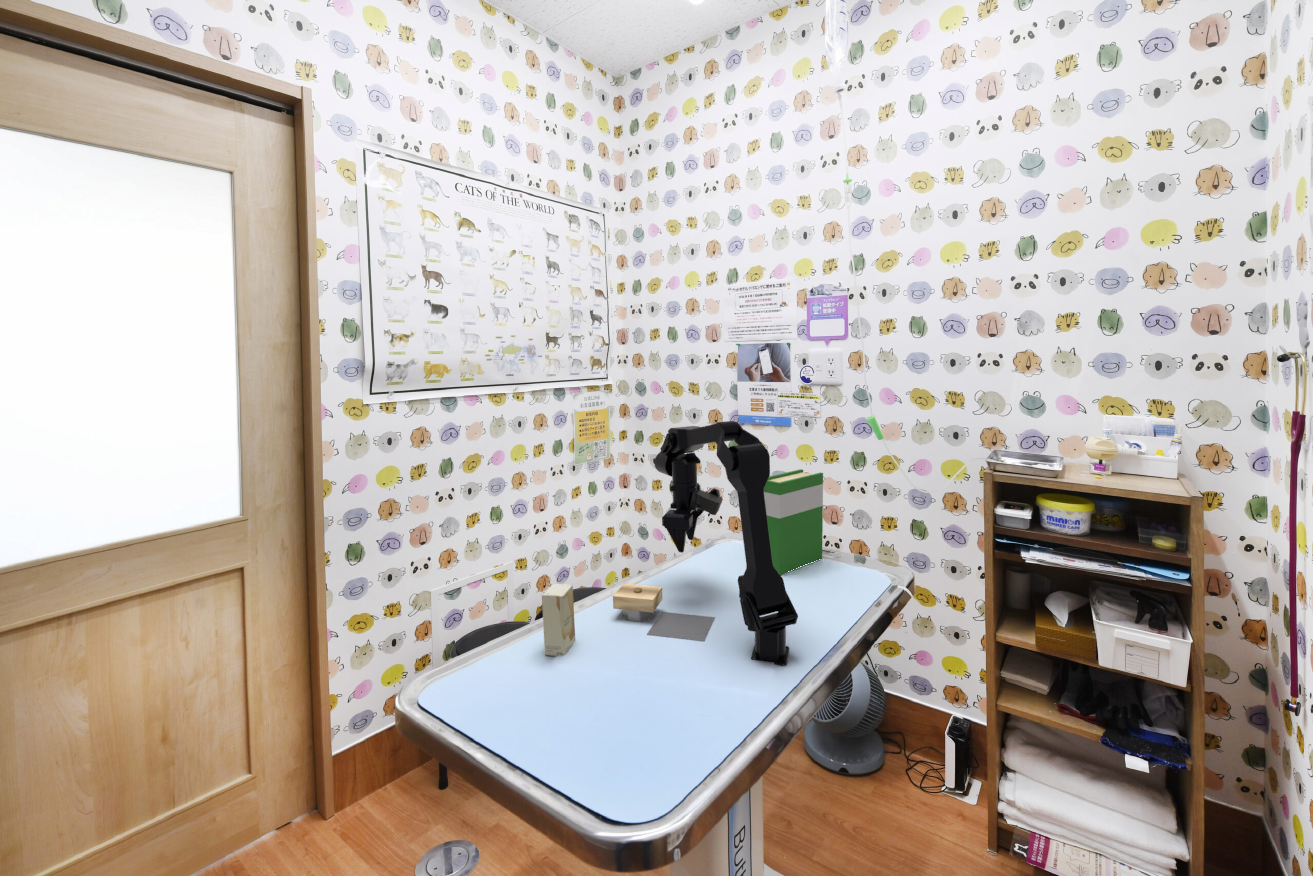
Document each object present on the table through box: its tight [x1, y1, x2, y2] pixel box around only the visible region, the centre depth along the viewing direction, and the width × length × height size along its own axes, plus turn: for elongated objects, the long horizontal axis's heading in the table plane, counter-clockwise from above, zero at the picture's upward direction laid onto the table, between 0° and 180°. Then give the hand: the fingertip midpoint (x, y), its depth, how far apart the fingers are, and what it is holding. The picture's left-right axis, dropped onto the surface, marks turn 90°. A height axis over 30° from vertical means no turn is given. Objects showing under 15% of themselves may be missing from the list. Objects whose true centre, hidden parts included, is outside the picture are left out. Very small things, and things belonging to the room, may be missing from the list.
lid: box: [612, 583, 664, 613], centre depth 128 cm, size 7×9×3 cm
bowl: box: [622, 609, 655, 623], centre depth 129 cm, size 6×6×3 cm
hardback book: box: [764, 468, 824, 576], centre depth 157 cm, size 18×7×24 cm, turn 128°
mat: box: [646, 611, 716, 642], centre depth 123 cm, size 11×12×1 cm
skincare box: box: [541, 583, 576, 657], centre depth 115 cm, size 6×4×12 cm
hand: (686, 545), depth 138 cm, fingers open, 9 cm apart
